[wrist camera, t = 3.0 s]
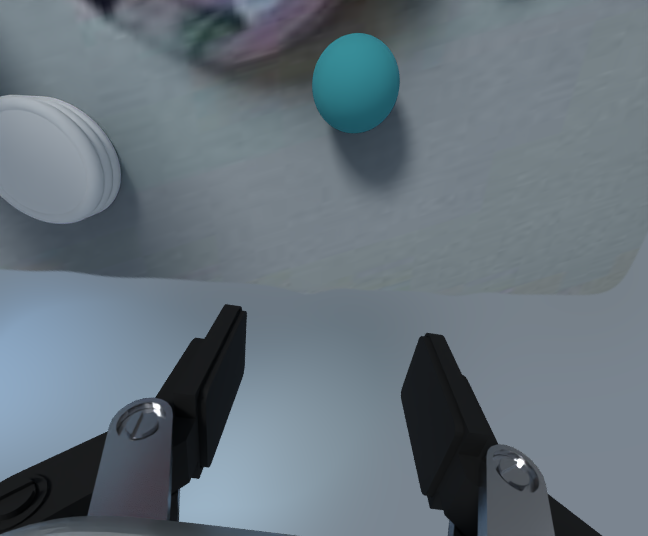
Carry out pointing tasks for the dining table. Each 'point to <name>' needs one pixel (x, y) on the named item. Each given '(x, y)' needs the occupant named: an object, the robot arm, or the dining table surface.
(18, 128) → the white stack of plates
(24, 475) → the robot arm
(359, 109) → the ball
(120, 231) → the dining table surface
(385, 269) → the dining table surface
